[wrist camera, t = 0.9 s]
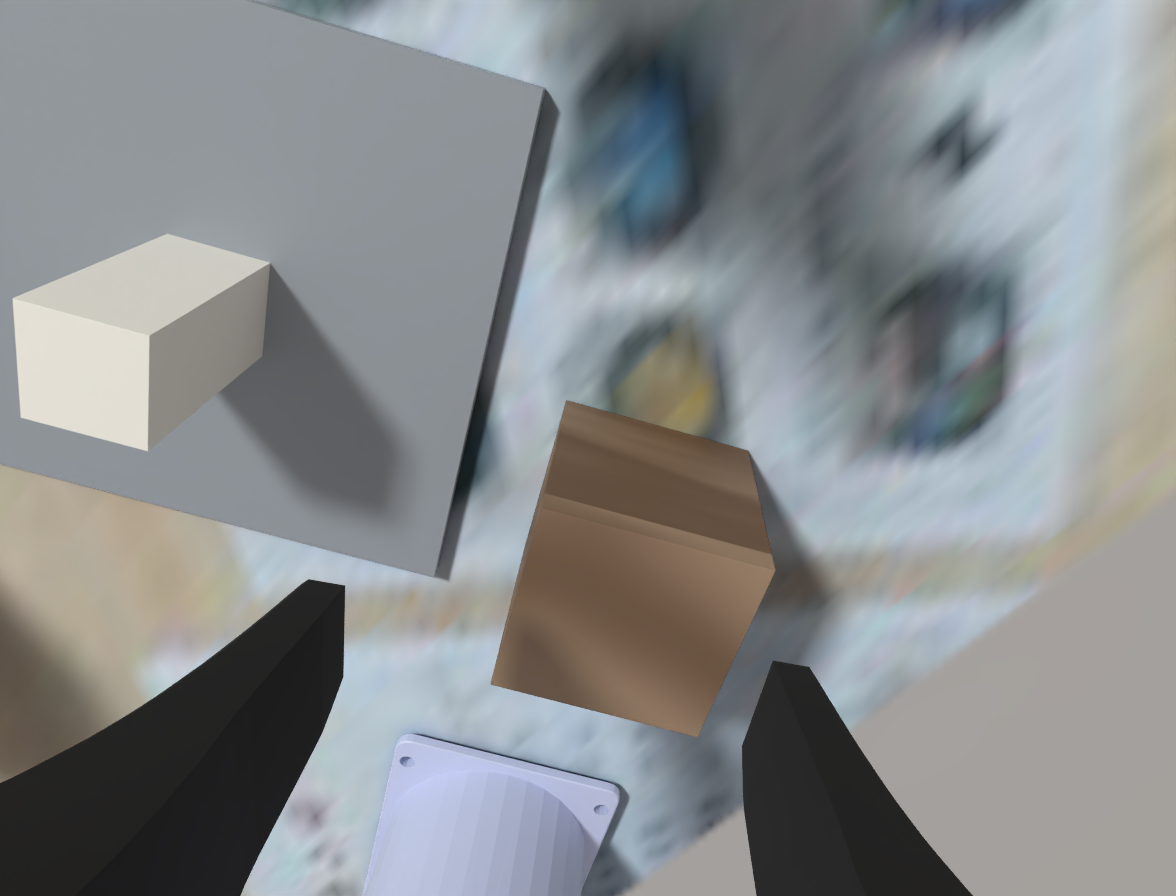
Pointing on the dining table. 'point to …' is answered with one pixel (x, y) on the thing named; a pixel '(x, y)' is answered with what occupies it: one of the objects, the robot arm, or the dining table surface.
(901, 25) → the dining table surface
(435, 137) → the flat grey base plate
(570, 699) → the brown shipping carton
